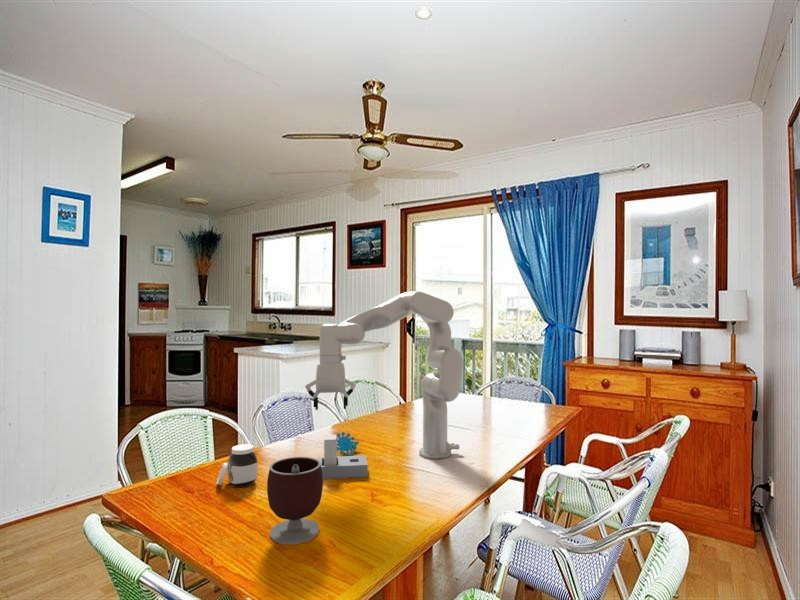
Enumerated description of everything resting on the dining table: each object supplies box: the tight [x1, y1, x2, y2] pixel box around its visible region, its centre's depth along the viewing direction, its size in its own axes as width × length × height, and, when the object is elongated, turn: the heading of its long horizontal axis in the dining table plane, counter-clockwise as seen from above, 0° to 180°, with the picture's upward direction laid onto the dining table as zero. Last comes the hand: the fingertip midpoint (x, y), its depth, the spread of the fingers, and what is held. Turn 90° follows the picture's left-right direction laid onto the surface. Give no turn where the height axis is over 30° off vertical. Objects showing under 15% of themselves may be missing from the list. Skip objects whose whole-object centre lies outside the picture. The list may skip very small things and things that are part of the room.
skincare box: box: [323, 434, 338, 466], centre depth 156 cm, size 6×4×12 cm
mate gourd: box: [266, 456, 324, 546], centre depth 114 cm, size 16×14×20 cm
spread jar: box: [216, 443, 258, 488], centre depth 147 cm, size 12×11×12 cm
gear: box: [336, 431, 360, 456], centre depth 179 cm, size 11×6×10 cm
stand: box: [317, 454, 369, 480], centre depth 157 cm, size 17×10×4 cm, turn 98°
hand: (330, 408), depth 157 cm, fingers open, 9 cm apart
